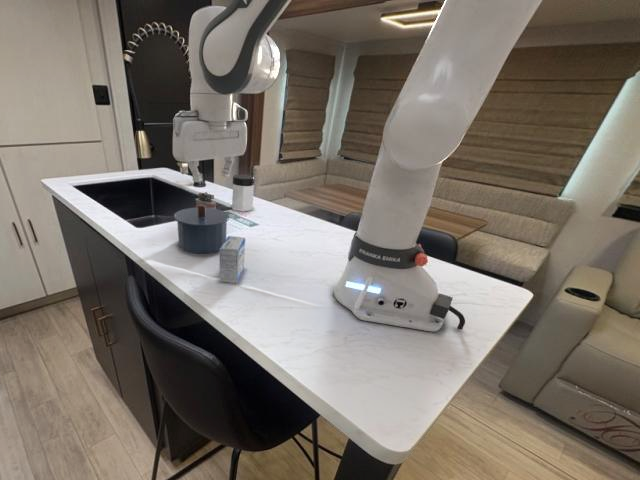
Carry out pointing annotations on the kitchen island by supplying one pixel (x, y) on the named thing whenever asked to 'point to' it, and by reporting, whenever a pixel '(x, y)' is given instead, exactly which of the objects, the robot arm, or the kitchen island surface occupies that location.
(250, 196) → the jar
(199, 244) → the pot
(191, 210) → the pot lid
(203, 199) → the lighter
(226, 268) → the medicine box
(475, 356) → the kitchen island surface
